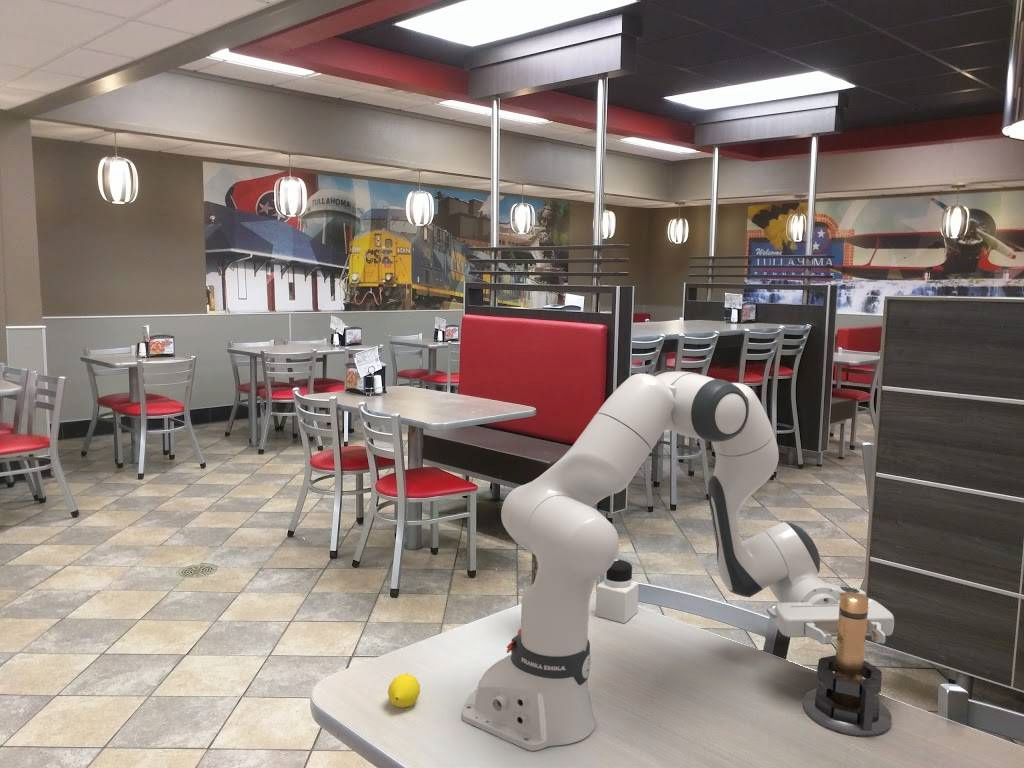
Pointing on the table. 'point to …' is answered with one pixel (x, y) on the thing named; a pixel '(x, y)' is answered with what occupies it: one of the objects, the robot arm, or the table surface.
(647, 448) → the robot arm
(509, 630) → the table surface
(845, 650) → the tube
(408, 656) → the table surface
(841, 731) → the collar stand
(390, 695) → the lemon
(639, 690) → the table surface
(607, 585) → the medicine bottle
